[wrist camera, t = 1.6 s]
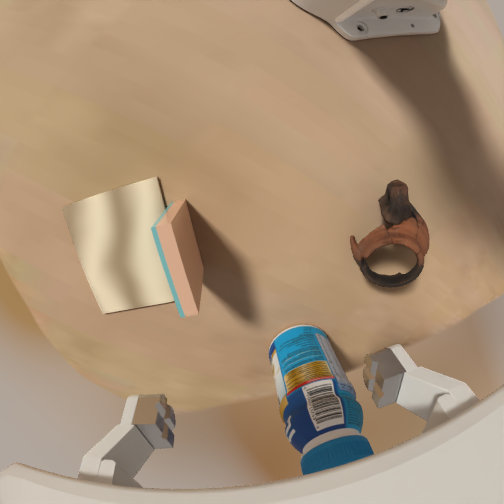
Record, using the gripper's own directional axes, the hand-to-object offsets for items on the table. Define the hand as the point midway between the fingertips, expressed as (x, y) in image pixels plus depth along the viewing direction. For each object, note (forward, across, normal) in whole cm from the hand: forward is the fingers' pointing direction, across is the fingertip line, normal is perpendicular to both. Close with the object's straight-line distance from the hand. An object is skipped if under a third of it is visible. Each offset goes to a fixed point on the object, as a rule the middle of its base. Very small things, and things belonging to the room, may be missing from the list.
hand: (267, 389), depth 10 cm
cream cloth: (+22, +13, 0) cm, 25 cm away
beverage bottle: (+22, -5, +18) cm, 29 cm away
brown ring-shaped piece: (+22, -17, +2) cm, 28 cm away
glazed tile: (+22, +5, 0) cm, 23 cm away
